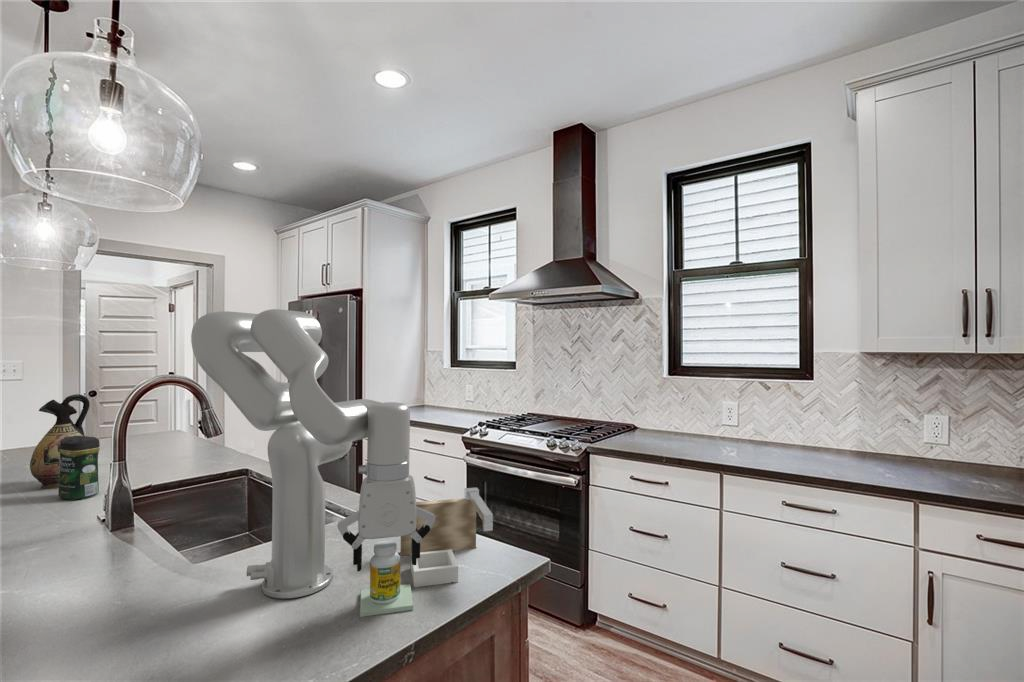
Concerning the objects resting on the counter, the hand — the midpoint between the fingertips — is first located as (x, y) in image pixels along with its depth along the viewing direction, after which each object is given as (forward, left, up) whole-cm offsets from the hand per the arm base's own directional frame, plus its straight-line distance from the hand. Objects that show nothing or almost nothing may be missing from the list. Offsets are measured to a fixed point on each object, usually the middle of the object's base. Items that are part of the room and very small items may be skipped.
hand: (387, 565), depth 88 cm
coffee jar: (-90, +88, -7) cm, 125 cm away
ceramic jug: (-102, +105, -7) cm, 146 cm away
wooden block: (+12, +21, -7) cm, 25 cm away
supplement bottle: (0, 0, -6) cm, 6 cm away
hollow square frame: (+10, +9, -7) cm, 14 cm away
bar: (+20, +12, +3) cm, 23 cm away
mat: (0, 0, -7) cm, 7 cm away
